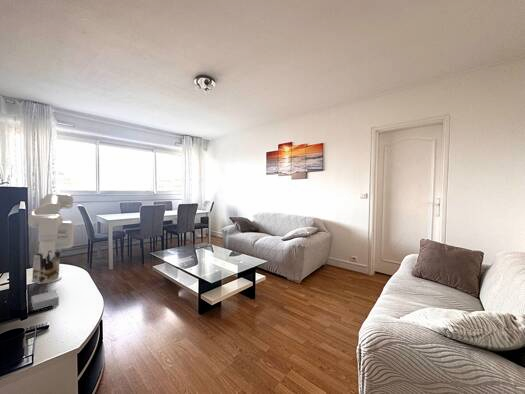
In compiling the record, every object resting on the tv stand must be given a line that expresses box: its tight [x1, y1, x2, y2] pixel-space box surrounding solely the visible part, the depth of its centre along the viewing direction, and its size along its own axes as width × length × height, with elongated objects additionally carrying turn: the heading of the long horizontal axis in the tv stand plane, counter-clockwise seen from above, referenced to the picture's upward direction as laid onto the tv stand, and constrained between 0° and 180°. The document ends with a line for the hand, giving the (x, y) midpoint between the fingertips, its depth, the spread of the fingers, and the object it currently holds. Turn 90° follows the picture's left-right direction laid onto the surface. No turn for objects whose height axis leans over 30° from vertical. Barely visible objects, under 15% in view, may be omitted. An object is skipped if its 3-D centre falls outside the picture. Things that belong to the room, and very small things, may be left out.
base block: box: [30, 290, 60, 310], centre depth 120 cm, size 11×10×5 cm
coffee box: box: [31, 250, 61, 285], centre depth 120 cm, size 9×6×16 cm
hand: (46, 267), depth 120 cm, fingers closed on coffee box, 8 cm apart
